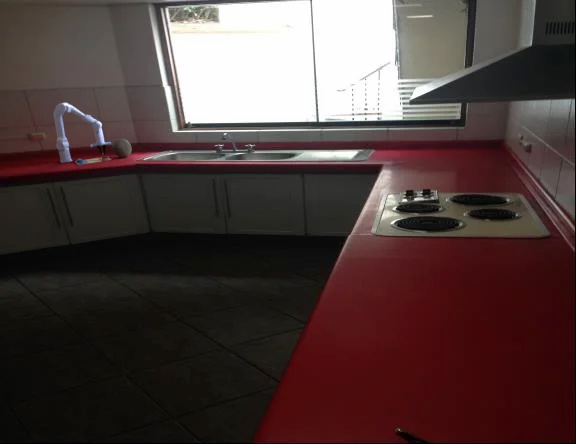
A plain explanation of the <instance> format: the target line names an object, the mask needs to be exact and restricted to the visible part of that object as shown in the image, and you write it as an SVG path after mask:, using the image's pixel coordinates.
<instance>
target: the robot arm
mask: <svg viewBox="0 0 576 444" xmlns="http://www.w3.org/2000/svg"><path fill="white" fill-rule="evenodd" d="M65 113H72V114H74V115H76V116H77V117H79V118H81V119H82V121H83V122H84V123H86V124H87V125H88V126H90V127H91V128H92V130H93V132H94V138H95V143H91V144H90V148H95V147H96V148H97V150H98V151H99V153H100V156H102V153H104V154H105V155H106V149H107V146H112V142H111V141H105V137H104V133H103V132H104V131H103V129H102V127H103V124H102V122H101V121H100V120H97V119H95V118H94V117H92V115H90V114H85V113H83V112H82V111H81V110H79V109H78V108H77V107H75V106H73V105H72V104H70V103H69V102H65V101H64V102H62V103H61V102H60V103H58V104H56V105H55V109H54V111H53V120H54V126H55V132H56V136H57V138H56V144H55V147H56V149H57V150H58V154H59V158H60V160H59V162H60V163H61V164H63V163H69V162H73V159H72V156H71V153H70V148H69V147H70V143H69V141H68V138H67V137H66V132H65V126H64V120H63V115H64V114H65Z"/></svg>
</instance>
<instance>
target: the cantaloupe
mask: <svg viewBox="0 0 576 444" xmlns="http://www.w3.org/2000/svg"><path fill="white" fill-rule="evenodd" d="M111 150H112V152H113V154H114V155H115V156H117V158H119V159H120V158H121V159H123V158H128V157H129V156H130V155H131V154H132V145H131V143H130V142H129V140H127V139H126V138H116V139H114V140H113V141H112V142H111Z"/></svg>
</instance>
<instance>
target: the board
mask: <svg viewBox="0 0 576 444" xmlns="http://www.w3.org/2000/svg"><path fill="white" fill-rule="evenodd" d="M107 161H113V160H112V158H110V157H109V156H108V158H105V159H103V158H102V156H101V157H94V158H88V159H82V163H80V162H77V161H76V160H75V161H74V163H75V164H76V165H77V166H81V165H87V164H93V163H94V164H95V163H101V162H107Z"/></svg>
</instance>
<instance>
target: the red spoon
mask: <svg viewBox="0 0 576 444" xmlns="http://www.w3.org/2000/svg"><path fill="white" fill-rule="evenodd" d="M101 157H102V158H103V159H105V158H108V157H109V156H108V155H106V153H105V154H104V153H103V152H102V155H101Z"/></svg>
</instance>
